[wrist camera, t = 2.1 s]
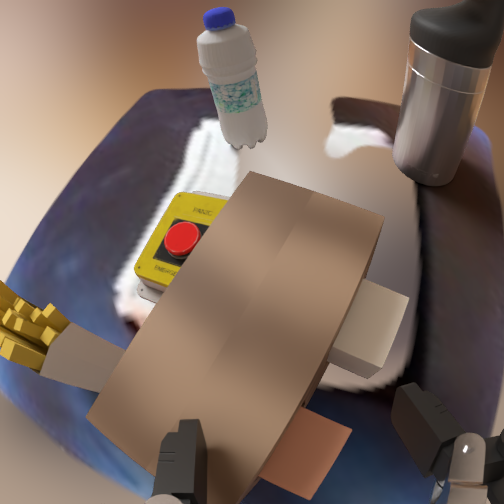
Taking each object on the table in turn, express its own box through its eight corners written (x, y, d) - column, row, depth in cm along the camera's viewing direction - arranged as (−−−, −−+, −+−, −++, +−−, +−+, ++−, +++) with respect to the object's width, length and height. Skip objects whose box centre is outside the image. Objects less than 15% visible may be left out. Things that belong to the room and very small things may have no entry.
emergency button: (117, 279, 31) (181, 169, 37) (136, 295, 34) (192, 192, 41) (193, 308, 28) (254, 181, 34) (207, 323, 32) (259, 206, 38)
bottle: (278, 129, 44) (257, -1, 27) (257, 159, 41) (225, 17, 24) (238, 121, 46) (207, 1, 29) (215, 149, 44) (172, 21, 27)
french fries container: (83, 330, 33) (-34, 253, 17) (159, 362, 30) (31, 287, 14) (70, 366, 31) (-56, 304, 15) (145, 404, 28) (2, 362, 12)
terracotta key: (288, 402, 19) (283, 398, 15) (343, 427, 18) (352, 429, 14) (254, 458, 17) (241, 466, 14) (309, 484, 16) (309, 500, 12)
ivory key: (341, 299, 22) (347, 272, 18) (392, 321, 21) (409, 297, 17) (314, 355, 20) (315, 339, 17) (367, 379, 19) (382, 368, 15)
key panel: (276, 285, 32) (249, 171, 18) (350, 317, 29) (384, 217, 15) (192, 426, 26) (85, 417, 12) (267, 469, 23) (223, 520, 9)
